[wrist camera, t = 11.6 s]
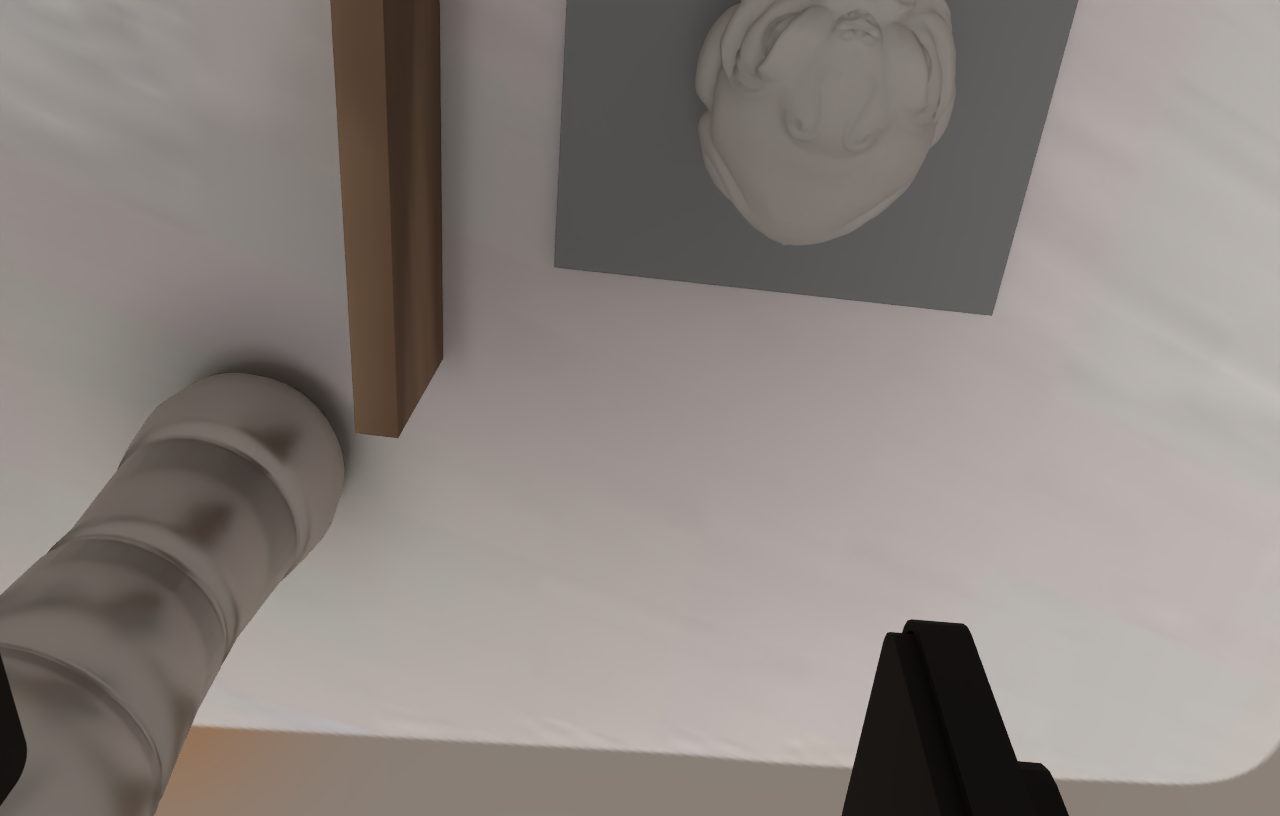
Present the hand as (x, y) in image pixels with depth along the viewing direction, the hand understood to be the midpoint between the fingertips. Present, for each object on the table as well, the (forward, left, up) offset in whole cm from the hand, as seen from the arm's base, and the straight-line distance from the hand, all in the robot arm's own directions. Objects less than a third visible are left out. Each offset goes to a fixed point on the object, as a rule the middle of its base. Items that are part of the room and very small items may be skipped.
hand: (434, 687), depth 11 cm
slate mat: (+5, +3, -21) cm, 22 cm away
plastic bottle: (-11, -11, -22) cm, 27 cm away
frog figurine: (+5, +3, -21) cm, 22 cm away
